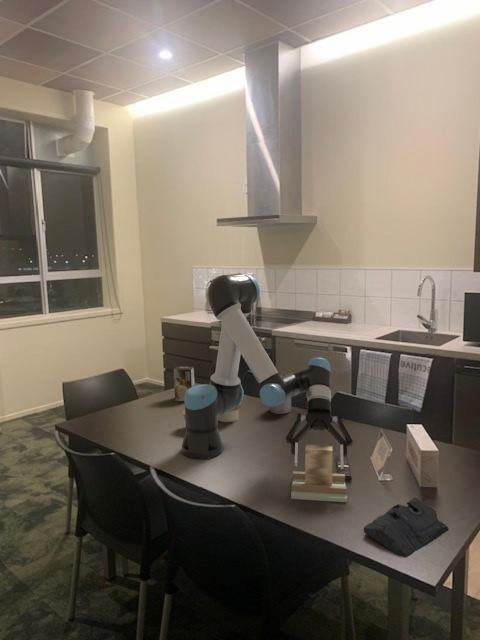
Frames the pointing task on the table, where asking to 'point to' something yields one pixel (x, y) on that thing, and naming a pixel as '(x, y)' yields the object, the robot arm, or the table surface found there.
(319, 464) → the tan upright rectangular block
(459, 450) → the table surface
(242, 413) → the table surface
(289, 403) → the grey tin can
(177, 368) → the coffee box
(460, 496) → the table surface
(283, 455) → the table surface
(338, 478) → the groove board
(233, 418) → the reusable coffee cup
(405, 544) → the folded dark sweater
